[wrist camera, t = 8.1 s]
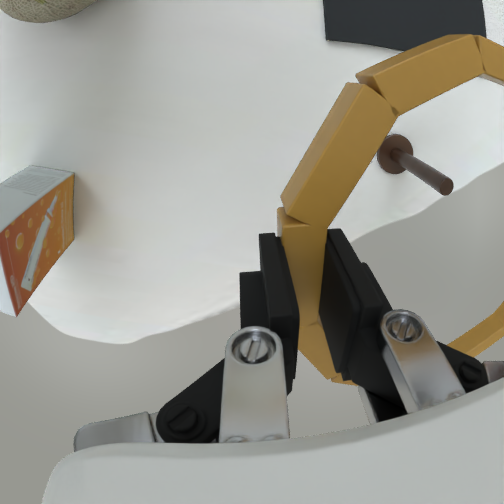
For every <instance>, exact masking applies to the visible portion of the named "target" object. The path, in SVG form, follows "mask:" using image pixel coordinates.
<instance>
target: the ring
mask: <svg viewBox="0 0 504 504" xmlns="http://www.w3.org/2000/svg"><path fill="white" fill-rule="evenodd" d="M477 76H479V77H482V78H484V79H487V80H490V81H492V82H495V83H497V84H500V85H502V86H504V47H503V46H501V45H499V44H497V43H495V42H493V41H491V40H489V39H487V38H485V37H482V36H480V35H472V34H454V35H446V36H443V37H440V38H438V39H435V40H432V41H430V42H427V43H425V44H422V45H420V46H417V47H415V48H412V49H410V50H407V51H405V52H403V53H400V54H398V55H396V56H393V57H391V58H389V59H387V60H384V61H382V62H380V63H378V64H376V65H373V66H371V67H369V68H367V69H365V70H363V71H361V72H359V73H357V74H356V78H357V79H358V81H359V83H349V82H347V83H346V85H345V86H344V88H343V90H342V92H341V93H340V95H339V97H338V98H337V100H336V102H335V103H334V105H333V107H332V109H331V110H330V112H329V114H328V115H327V117H326V119H325V120H324V122H323V124H322V126H321V127H320V129H319V131H318V132H317V134H316V136H315V138H314V139H313V141H312V143H311V144H310V146H309V148H308V150H307V151H306V153H305V155H304V156H303V158H302V160H301V162H300V163H299V165H298V167H297V168H296V170H295V172H294V174H293V175H292V177H291V179H290V180H289V182H288V184H287V186H286V187H285V189H284V191H283V192H282V194H281V200H282V203H283V206H284V207H279V208H278V209H277V234H278V237H280V239H281V243H282V246H284V249H285V253H286V257H287V261H288V265H289V269H290V273H291V277H292V281H293V285H294V290H295V294H296V298H297V302H298V306H299V313H300V327H299V340H298V350H299V351H300V352H301V353H302V354H303V355H304V356H305V357H306V358H307V359H308V360H309V361H310V362H311V363H312V364H313V365H314V366H315V367H316V368H317V370H318V371H320V373H321V374H322V375H323V376H324V377H325V378H326V379H330V378H331V381H332V382H335V383H342V384H348V385H355V386H358V385H357V384H355V383H353V382H352V380H348V381H343V379H342V376H341V373H336V372H335V369H334V365H333V362H332V358H331V355H330V351H329V347H328V344H327V340H326V337H325V333H324V330H323V326H322V323H321V320H320V316H319V313H318V311H319V302H320V294H321V284H322V275H323V264H324V253H325V243H326V240H327V228H328V227H329V225H330V224H331V222H332V221H333V219H334V218H335V216H336V215H337V213H338V212H339V210H340V209H341V207H342V206H343V204H344V203H345V201H346V200H347V198H348V197H349V195H350V193H351V192H352V190H353V189H354V187H355V186H356V184H357V183H358V181H359V179H360V178H361V176H362V175H363V173H364V172H365V170H366V168H367V167H368V165H369V164H370V162H371V160H372V159H373V157H374V156H375V154H376V152H377V151H378V149H379V147H380V146H381V144H382V143H383V141H384V139H385V138H386V136H387V134H388V133H389V131H390V129H391V128H392V126H393V124H394V123H395V121H396V119H397V118H398V116H400V115H402V114H404V113H405V112H407V111H409V110H411V109H413V108H415V107H417V106H419V105H421V104H423V103H425V102H427V101H429V100H431V99H433V98H435V97H436V96H438V95H440V94H442V93H444V92H446V91H449V90H451V89H453V88H455V87H457V86H459V85H461V84H463V83H465V82H467V81H469V80H471V79H473V78H475V77H477ZM503 336H504V301H503V303H502V304H501V305H500V306H499V308H498V309H497V310H496V311H495V312H494V313H493V314H492V315H490V316H489V317H488V318H486V319H485V320H484V321H482V322H481V323H479V324H478V325H476V326H475V327H474V328H472V329H471V330H469V331H468V332H466V333H465V334H463V335H462V336H460V337H459V338H457V339H456V340H454V341H453V342H451V343H449V344H448V345H447V346H449V347H451V348H454V349H456V350H458V351H460V352H462V353H465V354H467V355H469V356H471V357H475V356H476V355H478V354H480V353H481V352H482V351H484V350H485V349H487V348H488V347H489V346H491V345H492V344H494V343H495V342H496V341H497V340H499V339H500V338H502V337H503Z"/></svg>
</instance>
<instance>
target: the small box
mask: <svg viewBox="0 0 504 504" xmlns="http://www.w3.org/2000/svg"><path fill="white" fill-rule="evenodd" d="M73 187H74V173H73V172H67V171H61V170H55V169H49V168H44V167H37V166H28V167H26V168H25V169H23V170H21V171H20V172H18V173H16V174H15V175H13V176H11V177H10V178H8V179H7V180H5V181H4V182H2V183H1V184H0V311H1V312H4V313H6V314H9V315H11V316H14V317H17V316H18V314H19V313H20V311H21V310H22V308H23V306H24V305H25V304H26V302H27V301H28V299H29V298H30V296H31V295H32V294H33V292H34V291H35V289H36V288H37V287H38V285H39V284H40V282H41V281H42V280H43V278H44V277H45V276H46V274H47V273H48V272H49V270H50V269H51V268H52V266H53V265H54V264H55V263H56V261H57V260H58V259H59V257H60V256H61V255H62V254H63V252H64V251H65V250H66V249H67V248H68V246H69V245H70V244H71V243H72V241H73V240H74V232H73Z"/></svg>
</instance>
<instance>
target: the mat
mask: <svg viewBox="0 0 504 504" xmlns="http://www.w3.org/2000/svg"><path fill="white" fill-rule="evenodd" d="M323 5H324V18H325V33H326V40H332V41H342V42H352V43H360V44H367V45H374V46H380V47H386V48H391V49H396V50H401V51H407V50H410V49H412V48H415V47H417V46H420V45H422V44H425V43H427V42H430V41H432V40H435V39H438V38H440V37H443V36H446V35H454V34H472V35H480V36H482V37H485V38H486V27H485V18H484V10H483V3H482V0H323Z"/></svg>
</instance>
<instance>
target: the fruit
mask: <svg viewBox="0 0 504 504" xmlns="http://www.w3.org/2000/svg"><path fill="white" fill-rule="evenodd" d="M95 1H96V0H0V9H1V10H2V11H4V13H6V14H8V15H9V16H11V17H12V18H15V19H18V20H20V21H25V22H33V23H45V22H52V21H57V20H61V19H64V18H67V17H70V16H72V15H75V14H77V13H78V12H80V11H82V10H83V9H85V8H86V7H88V6H89V5H91V4H92V3H93V2H95Z"/></svg>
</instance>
